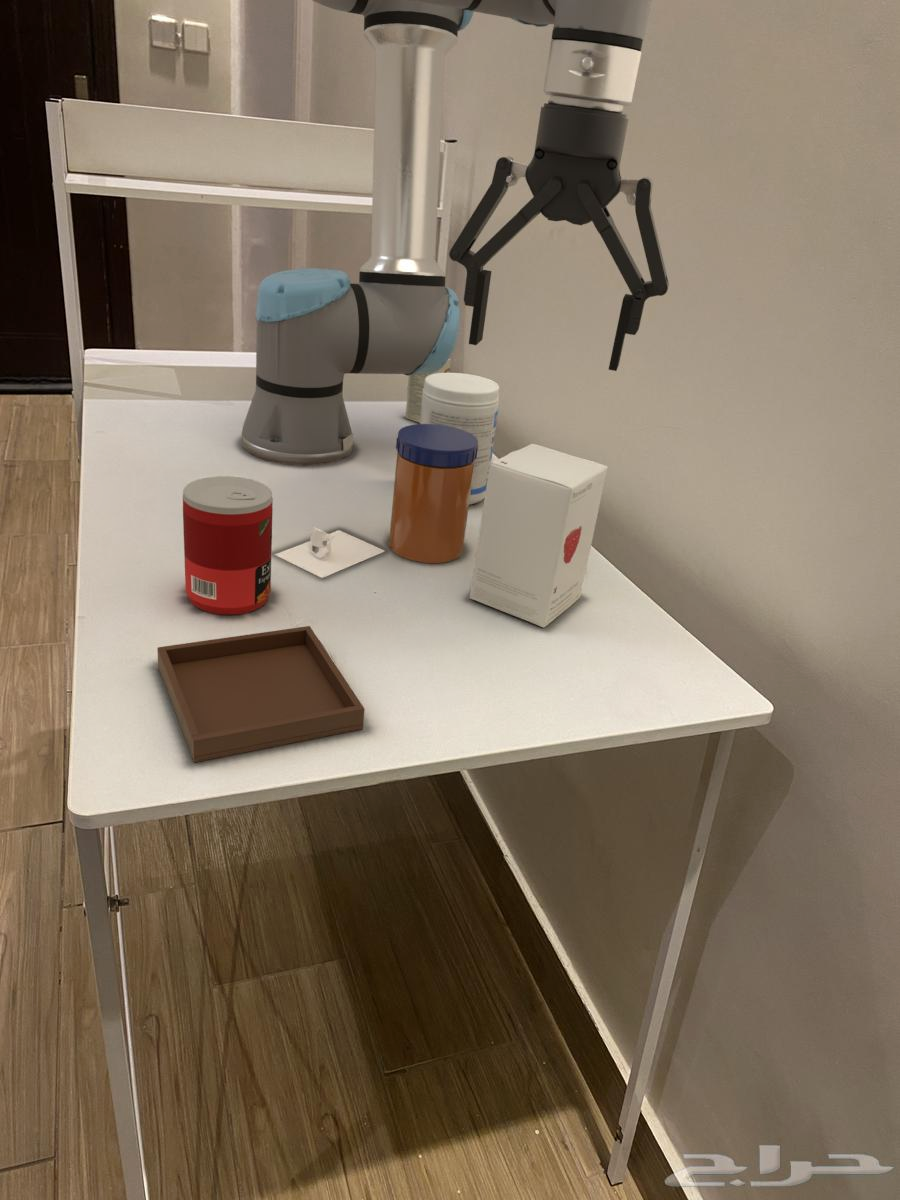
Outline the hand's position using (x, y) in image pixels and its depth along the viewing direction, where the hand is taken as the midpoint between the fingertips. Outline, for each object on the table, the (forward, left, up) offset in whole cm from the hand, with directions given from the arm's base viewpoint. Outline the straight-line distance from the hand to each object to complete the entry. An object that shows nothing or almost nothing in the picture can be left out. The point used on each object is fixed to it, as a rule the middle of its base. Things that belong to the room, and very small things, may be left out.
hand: (543, 354), depth 87 cm
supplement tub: (-23, +4, -24) cm, 34 cm away
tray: (+14, -32, -24) cm, 42 cm away
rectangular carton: (+5, -1, -24) cm, 25 cm away
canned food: (-3, -30, -24) cm, 38 cm away
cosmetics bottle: (-52, +14, -24) cm, 59 cm away
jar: (-9, -6, -24) cm, 26 cm away
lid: (-9, -6, -11) cm, 16 cm away
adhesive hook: (-10, -17, -24) cm, 31 cm away
